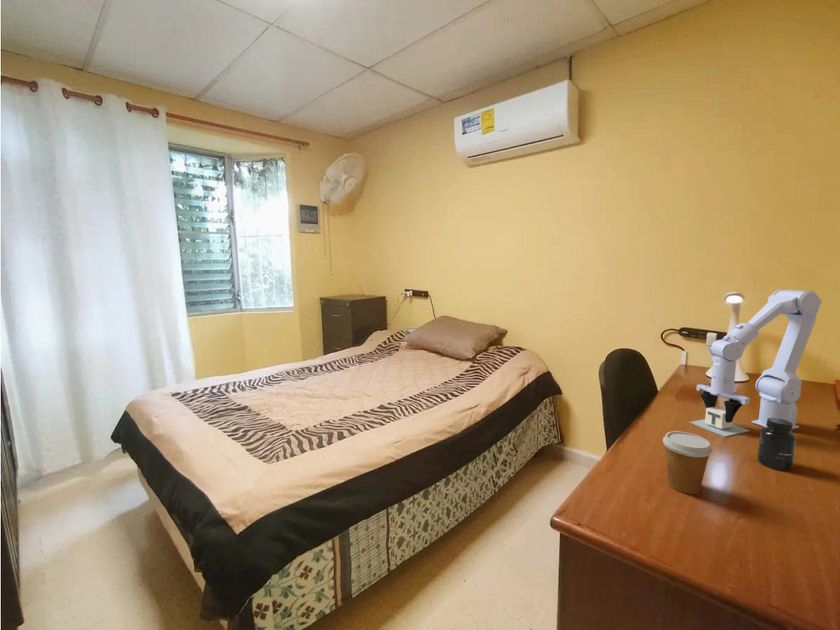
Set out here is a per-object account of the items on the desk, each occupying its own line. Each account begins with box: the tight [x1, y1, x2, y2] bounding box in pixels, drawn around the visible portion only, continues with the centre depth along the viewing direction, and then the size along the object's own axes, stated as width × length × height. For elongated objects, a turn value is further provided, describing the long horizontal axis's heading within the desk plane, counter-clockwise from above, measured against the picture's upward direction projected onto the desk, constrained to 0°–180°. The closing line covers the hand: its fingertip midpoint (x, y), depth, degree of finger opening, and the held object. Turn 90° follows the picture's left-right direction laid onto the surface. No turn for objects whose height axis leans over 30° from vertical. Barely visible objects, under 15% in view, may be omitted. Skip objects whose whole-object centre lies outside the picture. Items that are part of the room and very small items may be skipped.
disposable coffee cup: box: [662, 430, 713, 495], centre depth 89 cm, size 10×10×12 cm
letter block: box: [704, 405, 734, 429], centre depth 121 cm, size 5×5×5 cm
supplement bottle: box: [756, 418, 797, 471], centre depth 98 cm, size 7×7×12 cm
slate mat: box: [688, 418, 750, 438], centre depth 121 cm, size 11×11×1 cm
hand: (719, 418), depth 121 cm, fingers closed on letter block, 5 cm apart
